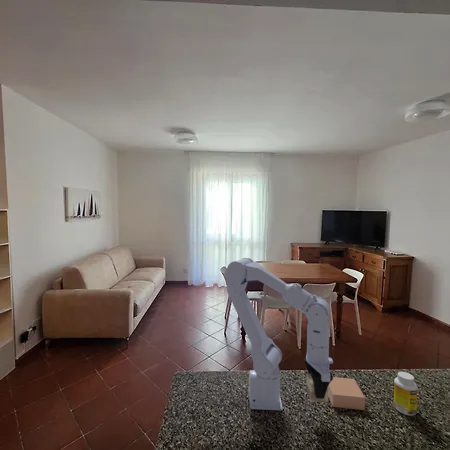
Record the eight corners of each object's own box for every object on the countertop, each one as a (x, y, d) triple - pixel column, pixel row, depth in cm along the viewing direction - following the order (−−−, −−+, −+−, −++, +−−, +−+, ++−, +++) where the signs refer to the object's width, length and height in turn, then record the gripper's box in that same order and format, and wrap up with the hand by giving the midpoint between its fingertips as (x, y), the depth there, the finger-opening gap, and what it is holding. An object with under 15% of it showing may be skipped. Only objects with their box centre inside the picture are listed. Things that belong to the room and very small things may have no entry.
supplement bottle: (411, 419, 72) (412, 383, 71) (390, 407, 76) (390, 373, 76) (420, 411, 75) (420, 377, 74) (398, 400, 79) (399, 367, 79)
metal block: (310, 401, 70) (311, 383, 70) (306, 390, 74) (306, 373, 74) (327, 402, 69) (328, 384, 69) (322, 391, 74) (322, 374, 74)
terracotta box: (332, 407, 76) (332, 394, 76) (325, 388, 85) (325, 376, 85) (364, 411, 75) (365, 397, 75) (353, 391, 84) (354, 378, 84)
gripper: (343, 357, 64) (342, 411, 64) (323, 332, 79) (323, 376, 79) (314, 356, 64) (313, 409, 65) (300, 331, 79) (299, 375, 79)
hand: (316, 391), depth 72 cm, fingers closed on metal block, 4 cm apart
